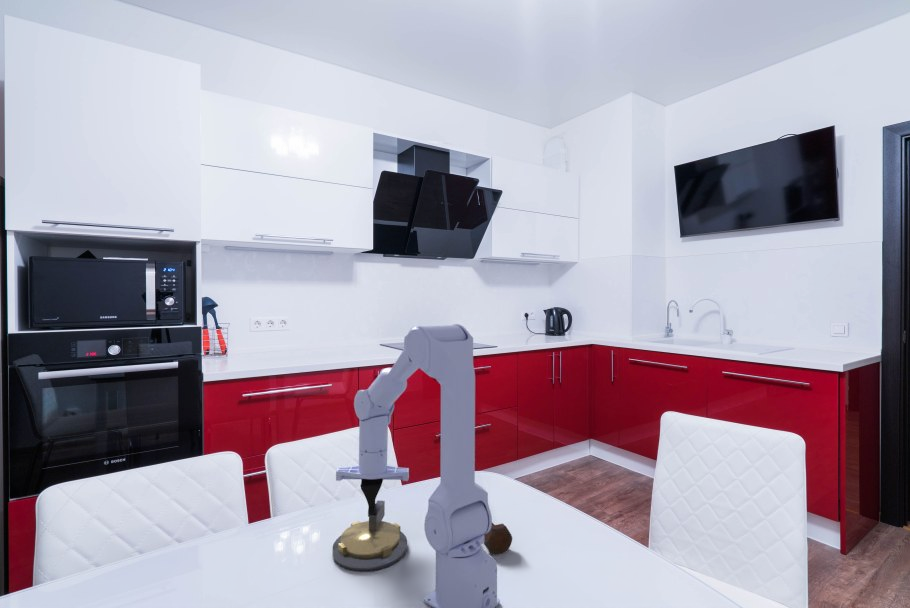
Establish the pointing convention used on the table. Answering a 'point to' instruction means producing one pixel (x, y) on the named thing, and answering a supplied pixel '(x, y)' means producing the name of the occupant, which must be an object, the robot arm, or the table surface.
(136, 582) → the table surface
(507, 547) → the bolt
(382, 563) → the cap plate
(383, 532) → the tabbed brass dial
